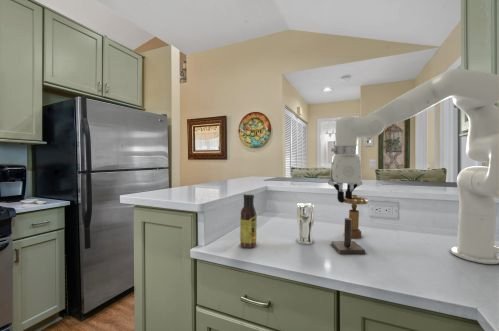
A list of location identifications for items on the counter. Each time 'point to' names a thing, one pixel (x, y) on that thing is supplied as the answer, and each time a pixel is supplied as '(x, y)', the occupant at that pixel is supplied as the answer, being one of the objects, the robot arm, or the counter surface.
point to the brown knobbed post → (354, 221)
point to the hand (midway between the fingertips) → (344, 201)
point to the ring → (356, 200)
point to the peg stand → (347, 241)
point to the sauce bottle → (248, 222)
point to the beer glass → (305, 222)
